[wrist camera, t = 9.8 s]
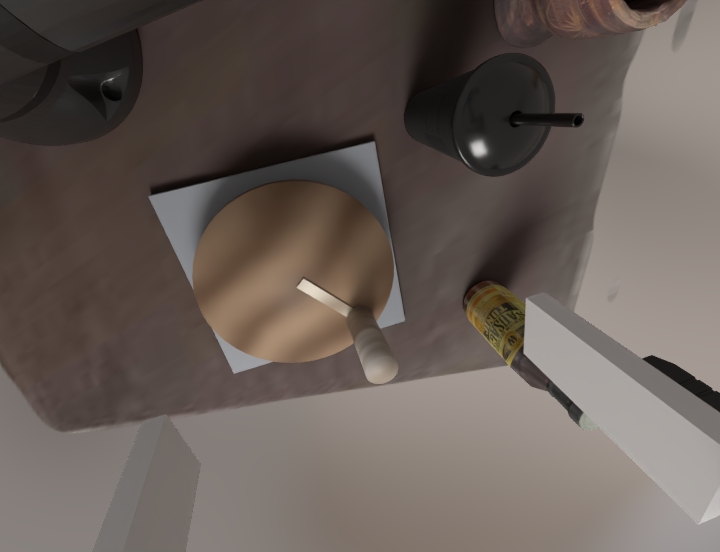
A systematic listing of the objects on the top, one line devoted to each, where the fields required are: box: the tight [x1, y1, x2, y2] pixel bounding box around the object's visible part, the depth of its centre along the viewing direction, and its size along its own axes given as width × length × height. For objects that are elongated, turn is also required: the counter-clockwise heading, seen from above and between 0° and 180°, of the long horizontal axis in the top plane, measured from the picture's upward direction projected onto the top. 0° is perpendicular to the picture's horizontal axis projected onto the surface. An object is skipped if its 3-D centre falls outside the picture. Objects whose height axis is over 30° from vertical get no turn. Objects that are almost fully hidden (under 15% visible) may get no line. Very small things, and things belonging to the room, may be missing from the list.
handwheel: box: [192, 179, 398, 384], centre depth 33 cm, size 20×20×12 cm
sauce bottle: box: [463, 281, 599, 430], centre depth 38 cm, size 6×6×20 cm
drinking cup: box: [404, 53, 584, 177], centre depth 27 cm, size 8×8×20 cm
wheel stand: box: [149, 141, 405, 373], centre depth 39 cm, size 22×22×1 cm
